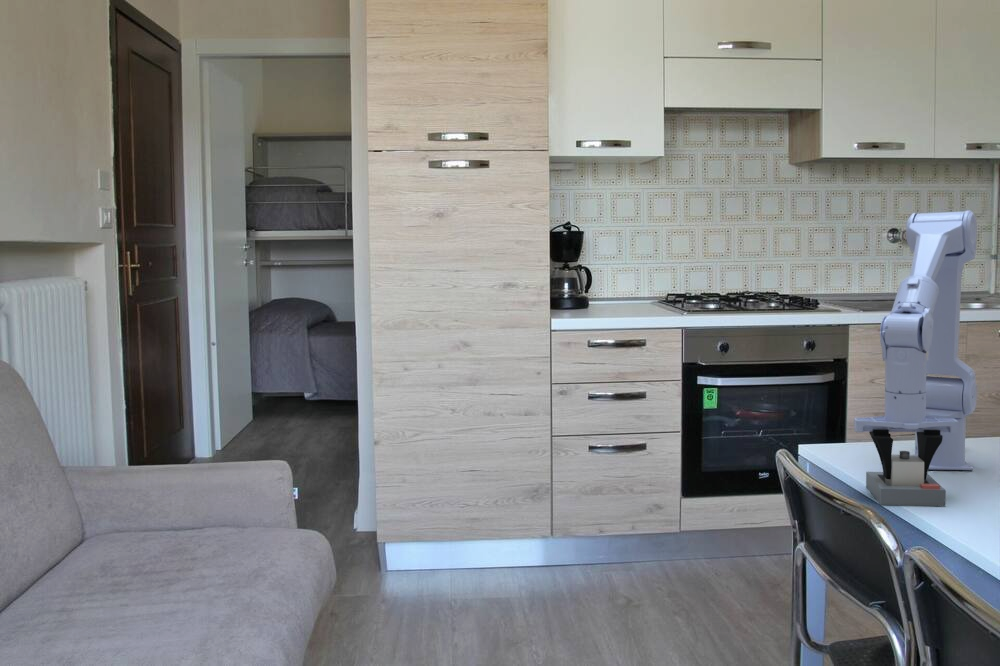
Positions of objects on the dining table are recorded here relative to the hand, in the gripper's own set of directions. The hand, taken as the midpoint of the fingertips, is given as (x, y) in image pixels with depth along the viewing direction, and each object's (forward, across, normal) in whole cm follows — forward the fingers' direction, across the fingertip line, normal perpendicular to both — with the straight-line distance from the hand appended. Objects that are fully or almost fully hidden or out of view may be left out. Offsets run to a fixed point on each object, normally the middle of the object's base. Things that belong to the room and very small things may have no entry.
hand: (904, 477), depth 135 cm
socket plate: (+3, 0, 0) cm, 3 cm away
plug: (+2, 0, 0) cm, 2 cm away
